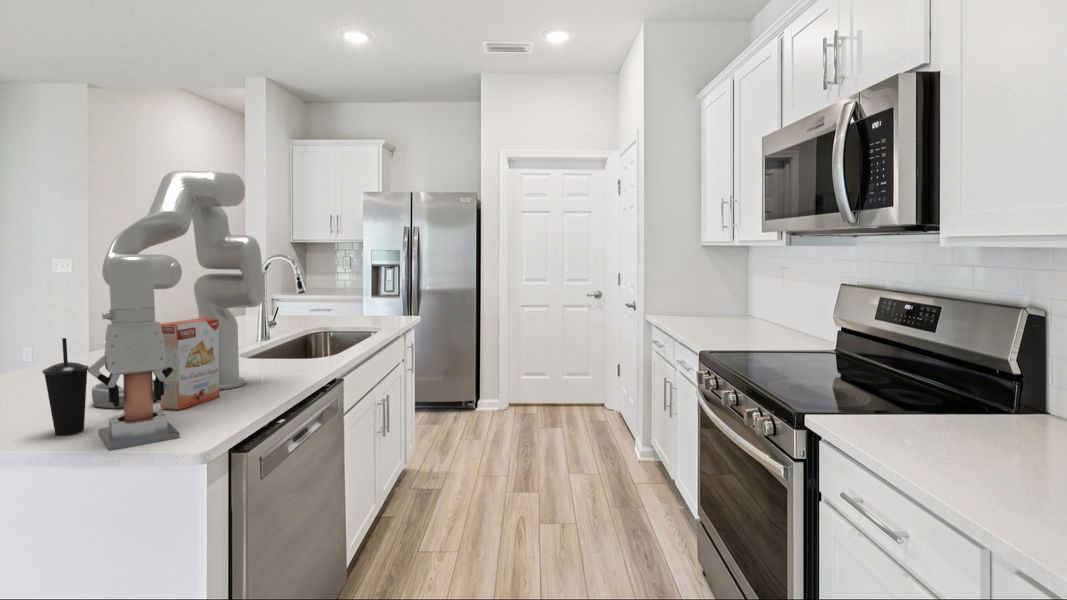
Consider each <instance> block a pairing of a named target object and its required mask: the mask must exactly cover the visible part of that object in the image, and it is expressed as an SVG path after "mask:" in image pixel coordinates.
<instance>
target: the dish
mask: <svg viewBox="0 0 1067 600" xmlns="http://www.w3.org/2000/svg"><path fill="white" fill-rule="evenodd" d="M154 381H155V378H152V386H153V402H155V401H157V400H156V399H155V398H154ZM117 387H118V388H119V406H118V407H115V406H114V405H113V402H111V403H110V402H109V390H108V386H107V385H105V384H104V383H102V382H98V383H97V384H95V385H93V386H92V389H91V398H92V401H93V405H94V406H96V407H98V408H108V409H109V408H111V409H117V408H118V409H124V387H122V386H120V385H119V384H117Z"/></svg>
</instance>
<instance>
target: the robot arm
mask: <svg viewBox="0 0 1067 600" xmlns="http://www.w3.org/2000/svg"><path fill="white" fill-rule="evenodd" d="M245 196H246V186H245V183H244V181H243V179H242V177H241V176H240V175H238V174H237V173H234V172H221V171H220V172H218V171H209V170H204V171H201V170H174V171H170V172H167V174H165V175H164V177H162V179H161V182H160V184H159V186H158V188H157V192H156V193H155V196H154V198H153V201H152V204H151V206H150V209H149V211H148V213H147V215H145V216H144V217H141V218H139V219H138V220H137V221H134V222H133V223H132V224H130V225H129V226H128V227H126V228H124V229H123V230H122V231H120V232H119V233H118V234H117V235H116V236H115V237H114V239H113V240H112V242H111V243H110V245H109V248H108V250H107V253H106V255H105V257H104V261H103V264H102V269H101V271H102V278H103V280H104V282H105V283H106V285H108V286H109V301H110V302H109V303H110V308H109V310H108V311H106V312H102V313H101V319H102V320H109V321H110V323H108V324H107V326H106V332H105V341H104V355H102V356H101V357H100V358H99V359H97V361H95V362H94V363H93V364H92V365H91V366H90V367H89V369H88V370H87V373H89V374H90V375H91V376H93V378H95V379H97V380H98V381H99V382H100V383H104V384H105V385H107V386H108V390H109V402H110V403H111V402H113V405H114V406H115V407H118V406H119V388H118V387H117V385H118V384H117V382H118V380H119V378H120V377H121V375H123V374H130V373H139V372H148V371H152V374H153V375H154V377H155V378H154V379H155V381H154V398H155V399H156V401H158V402H160V401H161V396H162V395H164V381H165V379H166V378H167V377H168V376H169V375H170V374H171V373H172V371H173V370H174V369H175V368H176V367H177V365H178V364H179V363H180V360H178V359H177V358H175V357H174V356H172V355H171V354H169V353H168V352H166V351H165V345H164V338H163V332H162V328H161V324H162V323H161V322H160V321H157V320H156V310H155V309H156V307H155V290H168V289H171V288H174V287H175V286H176V285H178V284H179V282H180V281H181V278H182V275H183V270H182V266H181V264H180V262H179V261H178V260H177V259H176V258H175V257H173V256H170V255H168V254H145V253H144V254H142V253H141V252H143V251H145V250H147V249H148V248H150V247H154V246H156V245H160V244H163V243H166V242H169V241H173V240H175V239H177V238H180V237H182V236H184V235H185V234H186V233H188V231H189V228H190V225H191V224H192V227H193V233H194V242H195V243H194V245H195V252H196V253H195V254H196V258H197V261H198V264H199V266H201V267H202V268H203V269H207V270H225V271H226V270H233V271H234V270H235V271H236V270H239V271H240V273H208V274H204V275H201V276H199V277H197V279H196V280H195V282H194V284H193V285H194V286H193V292H194V293H193V294H194V298H195V302H196V306H197V311H198V318H214V319H218V320H219V379H220V391H221V390H228V389H234V388H238V387H241V386H243V385H245V384H246V379H245V378H244V377H241V376H240V363H239V362H240V360H239V357H240V356H239V333H238V332H239V331H238V330H239V328H238V327H239V326H238V325H239V324H238V321H237V319H236V317H235V316H234V314H233V313H232V312H231V311H230V309H233V308H234V309H235V308H236V309H237V308H238V309H239V308H240V309H243V308H244V309H245V308H246V309H247V308H256V307H259V306H261V304H262V302H263V301H264V298H265V297H264V296H265V288H264V276H263V264H262V263H263V262H262V253H261V247H260V244H259V242H258V241H257V240H256V238H255V237H253V236H250V235H246V234H245V235H244V234H231V232H230V228H229V227H230V226H229V217H228V215H227V213H226V211H225V210H224V209H223V208H228V207H237V206H239V205H241V204H242V202H243V201H244V199H245ZM140 253H141V254H140ZM166 359H167V360H169V361H170V363H169V365H168V366H167V367H166V368H165V369H164V370H163V371H161V370H160V369H163V368H164V367H165V365H166ZM104 366H105V370H107V372H108V373H109V376H106V375H105V374H103V373H102V372H101V371H100V369H101V368H103V367H104Z"/></svg>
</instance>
